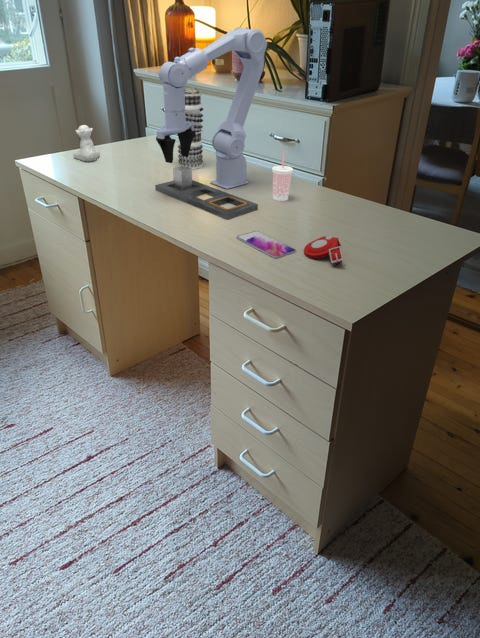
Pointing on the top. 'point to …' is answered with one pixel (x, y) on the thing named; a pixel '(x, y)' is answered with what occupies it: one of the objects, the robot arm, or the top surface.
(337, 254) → the tracker holder
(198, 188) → the rail
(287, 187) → the beverage cup
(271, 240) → the smartphone
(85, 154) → the white creature statuette
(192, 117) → the decorative candle
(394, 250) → the top surface
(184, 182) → the block
